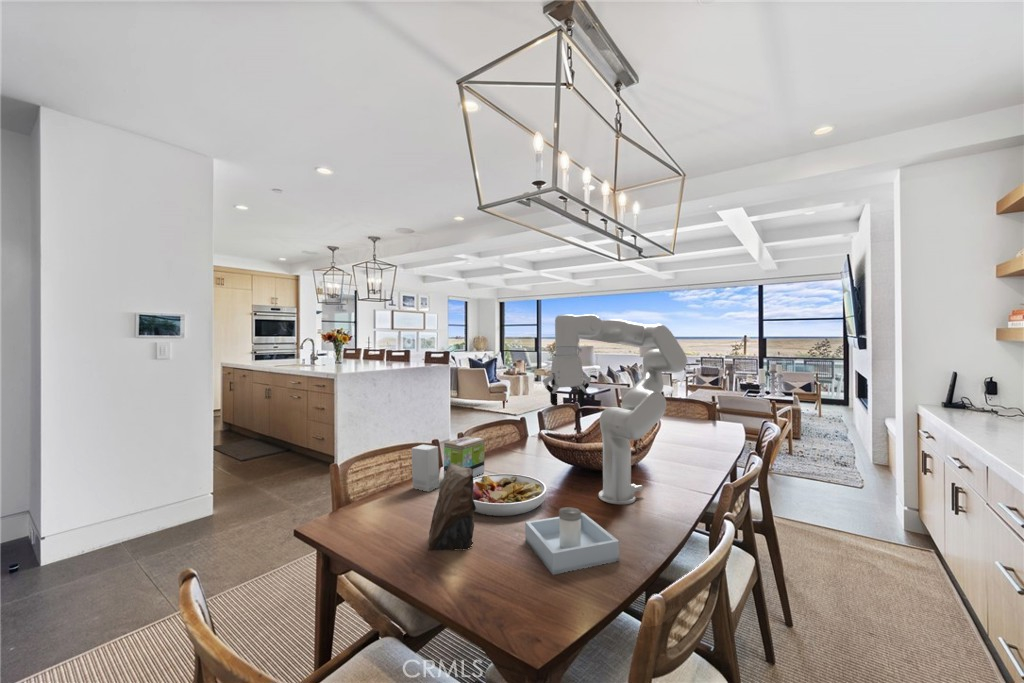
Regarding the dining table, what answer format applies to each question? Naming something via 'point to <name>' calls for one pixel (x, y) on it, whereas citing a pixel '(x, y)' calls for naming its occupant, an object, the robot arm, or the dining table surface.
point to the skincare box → (425, 467)
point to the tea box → (465, 454)
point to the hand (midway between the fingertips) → (567, 404)
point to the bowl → (507, 494)
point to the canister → (569, 527)
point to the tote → (592, 551)
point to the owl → (453, 511)
